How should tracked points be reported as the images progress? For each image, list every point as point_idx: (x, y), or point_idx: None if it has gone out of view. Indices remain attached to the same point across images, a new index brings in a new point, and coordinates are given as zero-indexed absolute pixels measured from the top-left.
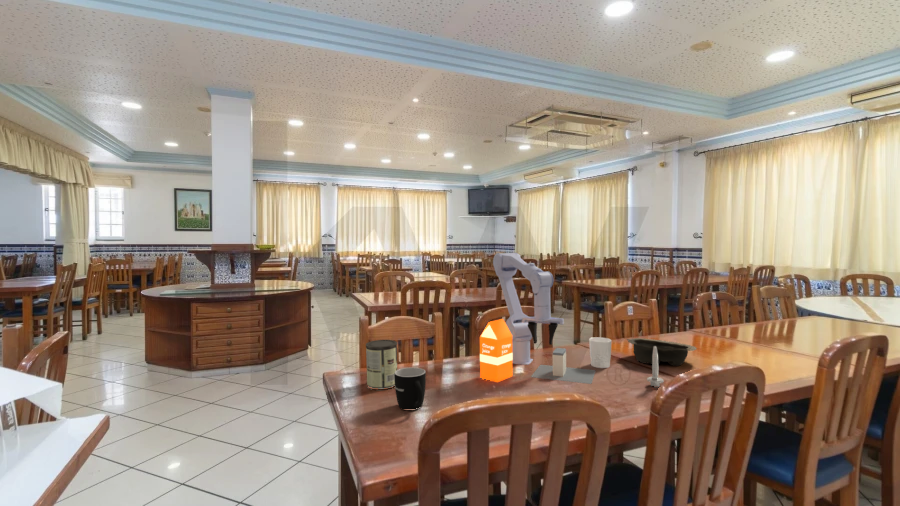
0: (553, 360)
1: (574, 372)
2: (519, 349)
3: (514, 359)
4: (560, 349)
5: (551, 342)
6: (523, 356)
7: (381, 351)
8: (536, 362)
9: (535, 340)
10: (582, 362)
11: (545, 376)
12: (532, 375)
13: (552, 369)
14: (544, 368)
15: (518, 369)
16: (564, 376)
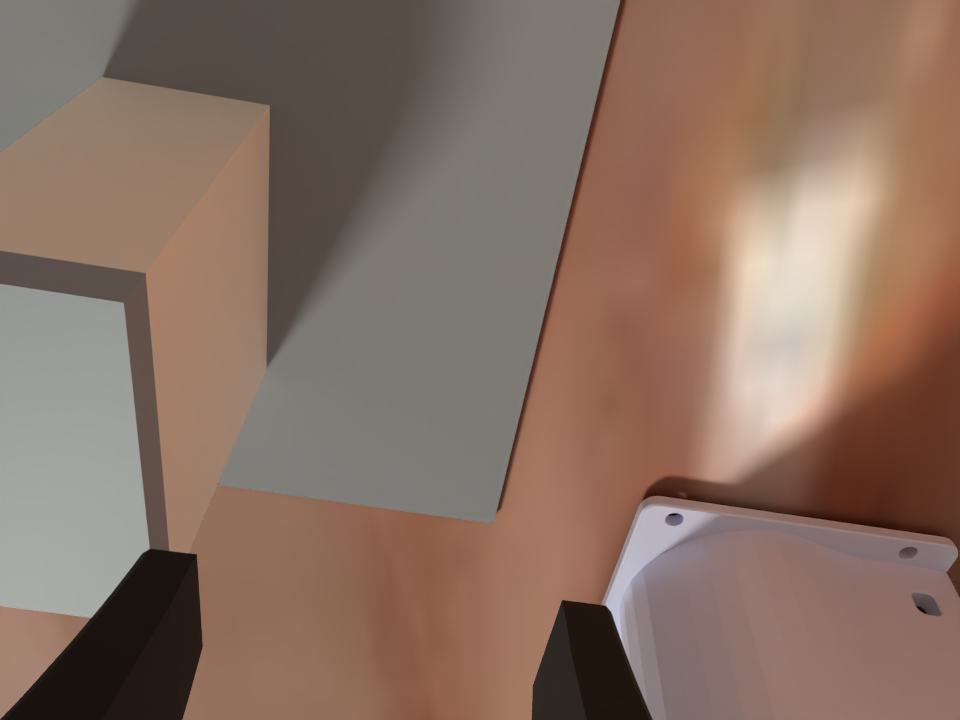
0: (174, 212)
1: None
2: (812, 693)
3: (837, 575)
4: (40, 545)
5: (116, 601)
6: (726, 604)
7: None
8: (542, 599)
9: (573, 665)
10: (53, 648)
11: (378, 18)
12: (602, 31)
13: (318, 373)
14: (429, 394)
15: (798, 332)
16: (81, 81)
